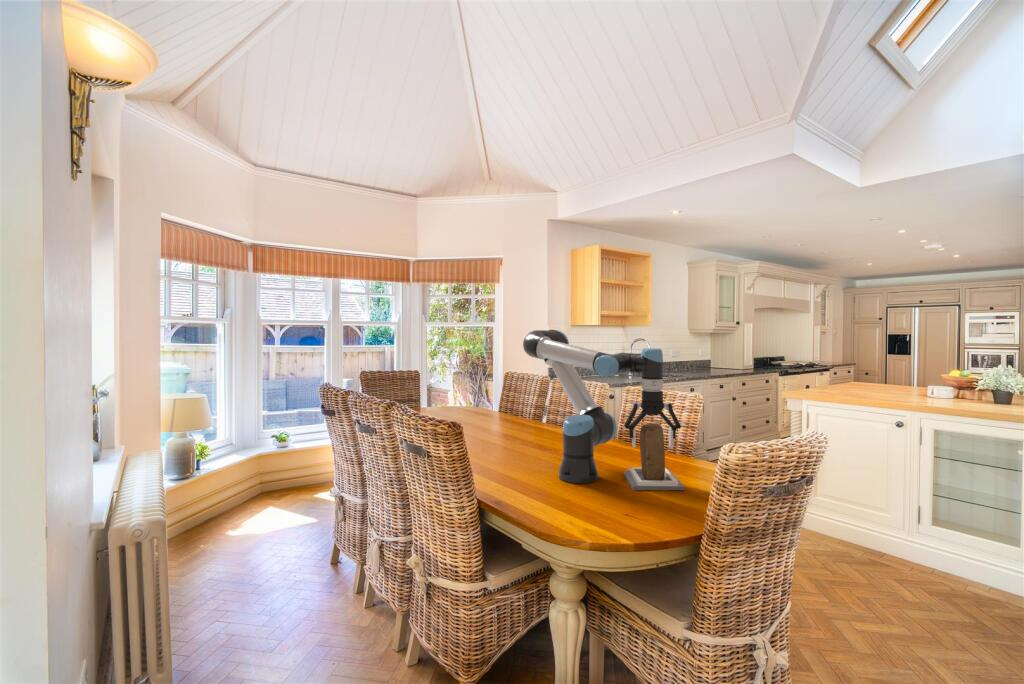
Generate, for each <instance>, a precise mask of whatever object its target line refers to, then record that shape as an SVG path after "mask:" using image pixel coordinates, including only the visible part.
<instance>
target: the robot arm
mask: <svg viewBox="0 0 1024 684" xmlns="http://www.w3.org/2000/svg"><path fill="white" fill-rule="evenodd" d="M522 346H523V350H524V352H525V353H526V355H528V356H529V357H531V358H535V359H539V360H543V361H544V363H545V364H546V365H547V366H550V367H551V369H552V370H553V372H554V374H555V376H556V377H557V380H558V381H559V383H560V385H561V386H562V387H561V388H563V391H564V392H565V394H566V396H567V398H568V399H569V401H570V403H571V405H572V407H573V408H574V410H575V412H576V415H575V414H573V415H570V416H567V417H566V418H564V420H563V421H562V423H563V424H562V451H563V453H562V460H561V464H560V466H559V470H558V479H560V480H561V481H564V482H566V483H571V484H589V483H590V484H591V483H593V482H596V481H597V480H599V470H598V467H597V464H596V461H595V458H594V448H595V447H596V446H599V445H602V444H606V443H608V442H609V441H611V440H612V439H614V437H615V436H616V433H617V430H618V429H617V421H616V420H615V418H614V417H613V416H612V414H610V413H607V412H605V410H604V409H603V407H602V406H601V405H599V404H596V403H595V400H594V399H593V398H592V396H591V395H592V394H591V393H590V392H589V390H588V389H587V386H586V384H585V383H584V381H583V380H582V377H581V376H580V375H579V372H578V371H577V369H576V367H578V368H582V369H585V370H589V371H593V372H596V374H598V375H599V376H601V377H611V376H612V377H613V376H615V375H616V376H617V375H622V374H623V375H624V374H641V389H642V390H641V403H637V402H633V403H632V409H631V411H630V412H629V415H628V416H627V419H626V420H625V423H624V424H623V427H624V428H625V429H627V430H629V431H628V432H629V433H628V435H629V438H630V439H631V446H632V448H633V449H636V438H637V437H636V436H637V435H636V433H637V432H636V429H635V428H637V426H638V425H639V423H640V422H641V421H642V420H643V419H644V418H645V417H646V416H650V417H651V416H656V417H657V416H660V417H661V418H662V419H663V420H664V422H665V423H666V424H667V425H668V426H669V427H670V428H669V429H668V447H669V448H670V449H673V448H674V439H676V438H677V436H676V435H677V430H678V429H681V428H682V425H681V424H680V422H679V419H678V417H677V416H676V414H675V411H674V410H673V404H672V403H671V402H667V403H664V391H663V389H664V382H663V381H664V375H663V374H664V371H663V370H664V357H663V356H664V355H663V350H662V349H661V348H655V347H654V348H642V350H641V352H640V353H631V352H617V353H616V352H615V353H614V354H610V353H605V352H602V351H597V350H594V349H589V348H585V347H582V346H581V347H580V346H577V345H573V344H570V342H569V339H568V337H567V335H566V334H565V333H564V332H562V331H560V330H556V329H548V330H547V329H546V330H543V329H541V330H539V329H538V330H537V329H536V330H532V331H530V332H528V333H527V334H526V335H525V337H524V338H523V342H522ZM640 408H641V409H642V410H641V411H640V412H639V414H638V415H637V416H636V418H635V419H634V417H635V415H636V413H637V412H638V410H639V409H640ZM664 408H665V409H666V410H667V412H668V413H669V415H670V417H671V419H672V421H673V423H674V424H673V423H672V421H671V420H670V418H668V417H667V415H666V414H665V413H664V412H663V410H664Z"/></svg>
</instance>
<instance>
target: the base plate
mask: <svg viewBox="0 0 1024 684" xmlns="http://www.w3.org/2000/svg"><path fill="white" fill-rule="evenodd" d="M624 475H625V476H624ZM623 476H624V478H625V477H626V478H625V480H626V481H627V483H628V482H629V483H628V485H629V484H630V485H629V487H630V486H631V487H630V488H631V491H636V490H684V491H686V490H685V486H684V484H682V482H681V481H680V480H679V479H678V478H677V477H676V476H675V475H674V474H673V472H672V471H671V470H669V469H667V468H666V467H665V478H664V480H661V481H658V480H645V479H644V477H643V474H642V466H641V467H640V466H639V467H638V466H637V467H635V466H634V467H628V470H623Z"/></svg>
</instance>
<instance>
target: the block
mask: <svg viewBox="0 0 1024 684" xmlns="http://www.w3.org/2000/svg"><path fill="white" fill-rule="evenodd" d="M639 432H640V433H639V450H640V451H639V452H640V464H641V468H642V474H643V477H644V479H645V480H658V481H661V480H664V478H665V468H666V452H665V451H666V450H665V436H664V429H663V427H662V426H661V425H660V424H658V423H643V424H642V425H641V426H640V431H639Z"/></svg>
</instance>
